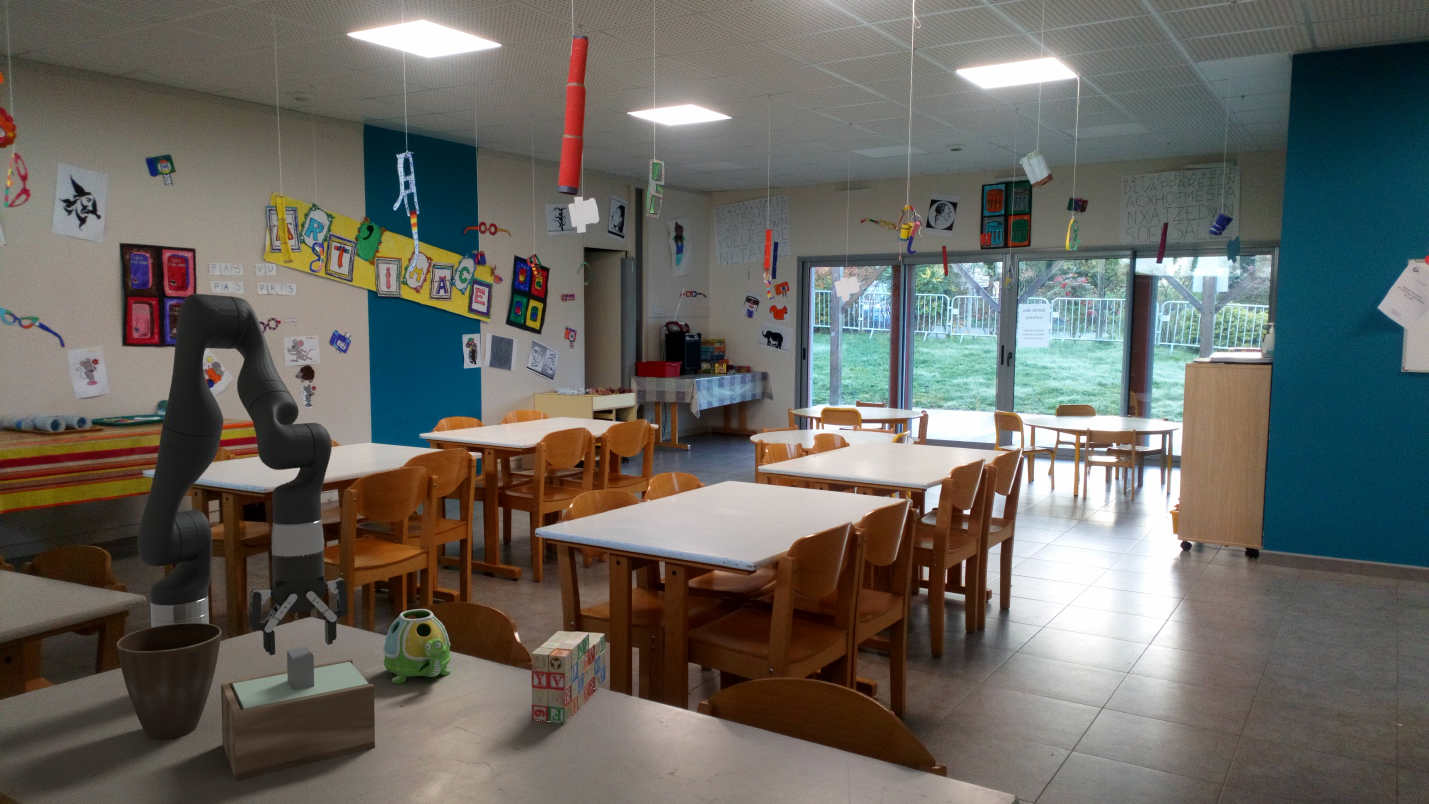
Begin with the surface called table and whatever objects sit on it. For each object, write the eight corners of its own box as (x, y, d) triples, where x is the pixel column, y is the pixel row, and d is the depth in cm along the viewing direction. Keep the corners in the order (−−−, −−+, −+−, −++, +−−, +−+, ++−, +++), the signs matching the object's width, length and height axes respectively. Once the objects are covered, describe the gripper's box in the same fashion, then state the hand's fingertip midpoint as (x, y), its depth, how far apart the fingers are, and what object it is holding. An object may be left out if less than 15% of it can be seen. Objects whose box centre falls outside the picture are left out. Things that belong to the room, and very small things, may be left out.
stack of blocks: (575, 677, 179) (575, 615, 178) (606, 680, 177) (606, 617, 177) (531, 721, 158) (531, 651, 157) (565, 725, 157) (565, 655, 156)
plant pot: (217, 704, 163) (214, 616, 162) (230, 734, 151) (227, 640, 150) (117, 724, 154) (114, 632, 153) (122, 758, 142) (119, 657, 141)
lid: (232, 690, 147) (231, 652, 146) (350, 668, 157) (349, 632, 156) (244, 716, 137) (243, 675, 136) (368, 690, 147) (368, 653, 147)
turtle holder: (405, 699, 167) (404, 635, 166) (375, 669, 181) (374, 610, 180) (470, 684, 174) (470, 623, 173) (436, 657, 189) (435, 600, 188)
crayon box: (222, 744, 147) (220, 682, 147) (352, 715, 159) (351, 658, 158) (236, 780, 135) (234, 713, 135) (374, 747, 147) (374, 685, 146)
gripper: (339, 539, 152) (341, 634, 154) (244, 550, 144) (247, 650, 145) (350, 547, 146) (353, 646, 147) (252, 559, 138) (255, 664, 139)
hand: (300, 648), depth 146 cm, fingers open, 8 cm apart
